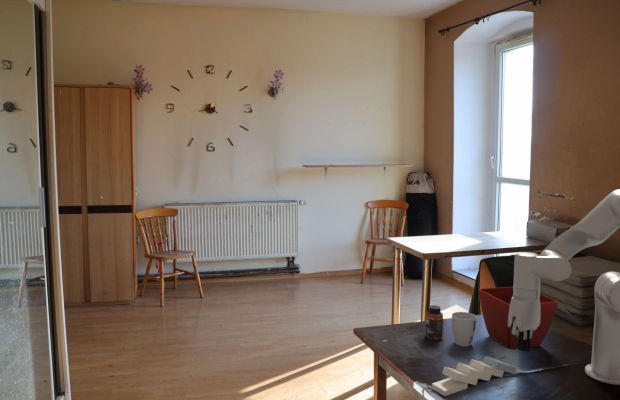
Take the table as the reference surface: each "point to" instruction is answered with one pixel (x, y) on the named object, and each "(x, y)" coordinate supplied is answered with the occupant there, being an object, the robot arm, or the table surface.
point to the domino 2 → (449, 386)
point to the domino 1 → (459, 376)
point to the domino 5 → (499, 365)
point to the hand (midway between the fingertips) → (523, 350)
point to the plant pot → (497, 313)
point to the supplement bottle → (434, 323)
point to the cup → (463, 327)
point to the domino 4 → (485, 368)
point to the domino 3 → (472, 372)
